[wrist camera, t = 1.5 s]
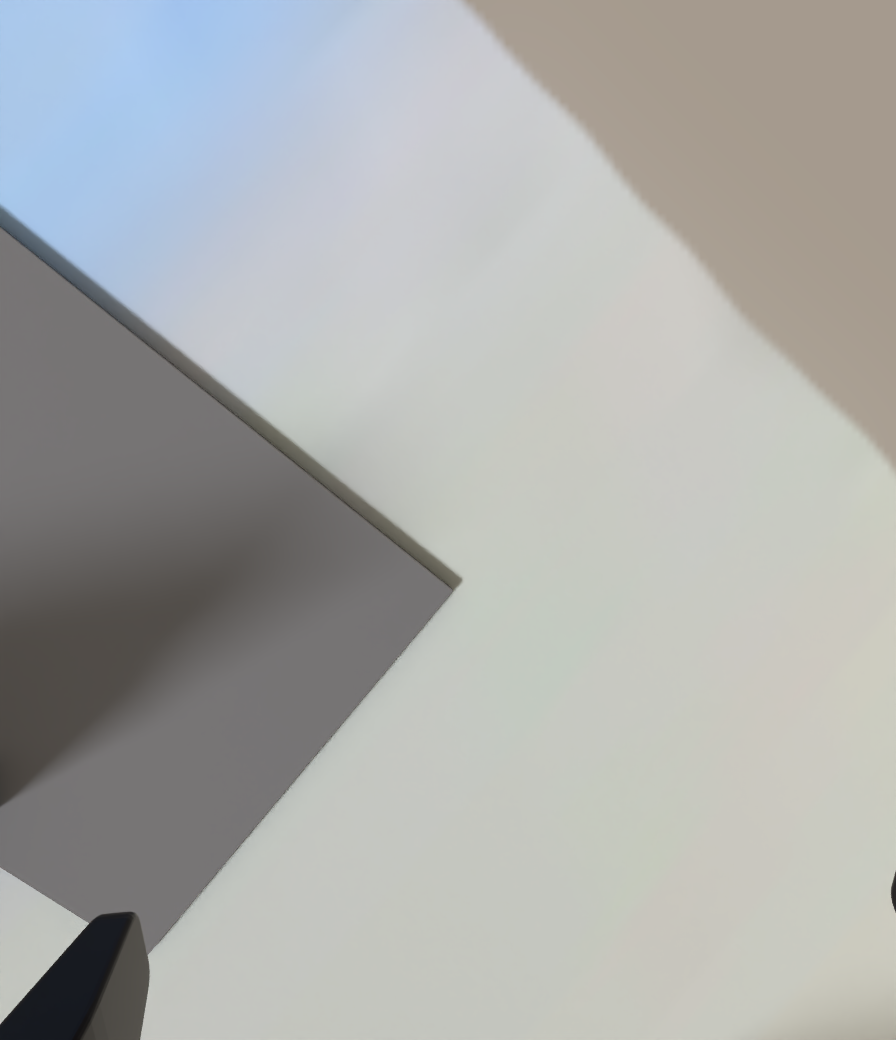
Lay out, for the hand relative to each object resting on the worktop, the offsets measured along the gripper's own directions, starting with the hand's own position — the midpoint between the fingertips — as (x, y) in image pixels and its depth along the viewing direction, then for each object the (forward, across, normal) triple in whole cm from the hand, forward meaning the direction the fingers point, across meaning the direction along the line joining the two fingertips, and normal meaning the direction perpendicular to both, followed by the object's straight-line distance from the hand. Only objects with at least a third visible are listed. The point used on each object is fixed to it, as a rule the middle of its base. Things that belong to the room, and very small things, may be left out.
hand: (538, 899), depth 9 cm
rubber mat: (+14, +12, +1) cm, 18 cm away
